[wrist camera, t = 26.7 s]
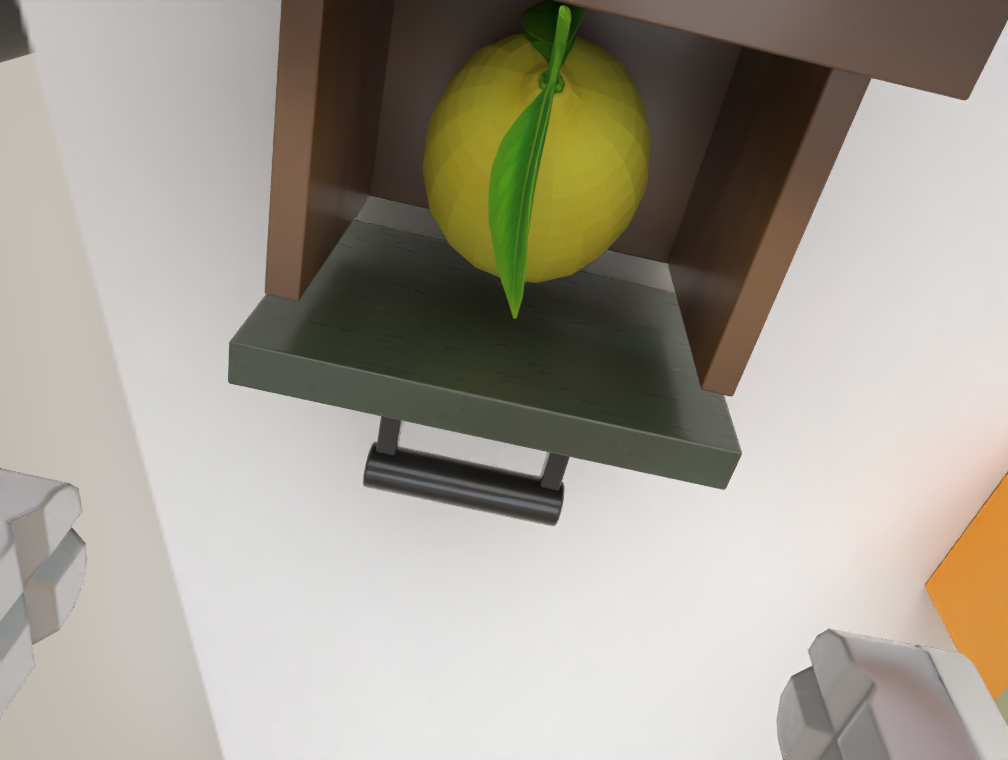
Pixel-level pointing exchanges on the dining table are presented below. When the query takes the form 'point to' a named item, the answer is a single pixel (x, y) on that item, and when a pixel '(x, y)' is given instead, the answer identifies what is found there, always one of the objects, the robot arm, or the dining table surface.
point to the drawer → (545, 305)
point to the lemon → (537, 152)
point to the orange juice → (979, 594)
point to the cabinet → (844, 33)
